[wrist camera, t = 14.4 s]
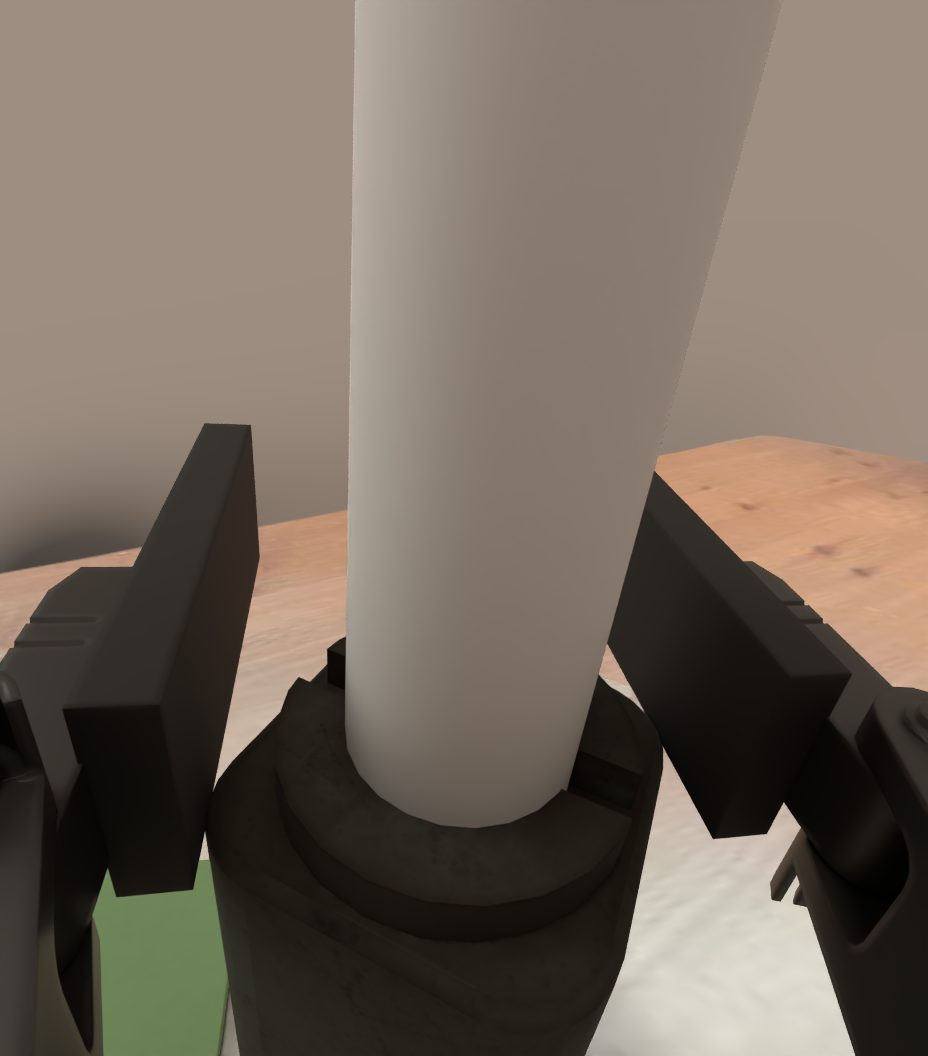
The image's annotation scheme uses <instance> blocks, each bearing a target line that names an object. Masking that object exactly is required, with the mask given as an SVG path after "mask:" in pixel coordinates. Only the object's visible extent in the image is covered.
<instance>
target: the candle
mask: <svg viewBox="0 0 928 1056" xmlns="http://www.w3.org/2000/svg"><path fill="white" fill-rule="evenodd" d="M782 2H783V0H355V52H354V121H353V122H354V123H353V124H354V125H353V191H352V262H351V331H350V402H349V403H350V404H349V405H350V406H349V471H348V473H349V474H348V475H349V476H348V540H347V610H346V637H344V638H342V639H340V640H338V641H337V642H336V643H334V644H333V645H332V646H331V647H329V648H328V649H327V665H326V666H325V667H324V668H323V669H322V670H321V671H320V672H319V673H318V674H317V675H316V676H315V677H314V678H313V679H312V680H311V681H310V682H309V681H307V680H304V679H302V678H300V677H298V679H297V680H296V681H295V683H294V684H293V685H292V687H291V688H290V689H289V690H288V693H287V696H286V698H285V701H284V704H283V706H282V709H281V712H280V713H279V714H278V715H277V716H276V717H275V718H274V719H273V720H272V721H271V722H270V723H269V724H268V725H267V726H266V727H265V728H264V729H263V730H262V732H261V733H260V734H259V735H258V736H257V737H256V738H255V739H254V740H253V741H252V742H251V743H250V744H249V745H248V746H247V747H246V748H245V749H244V750H243V751H242V752H241V753H240V754H239V755H238V756H237V757H236V758H235V759H234V760H233V761H232V763H231V764H230V765H229V766H228V768H227V769H226V770H225V772H224V773H223V774H222V775H221V777H220V778H219V779H218V781H217V784H216V786H215V788H214V791H213V793H212V795H211V798H210V802H209V807H208V813H207V820H206V827H205V833H206V840H207V846H208V852H209V859H210V865H211V872H212V878H213V885H214V891H215V898H216V904H217V911H218V917H219V924H220V930H221V937H222V943H223V949H224V956H225V962H226V969H227V975H228V982H229V988H230V995H231V1001H232V1008H233V1014H234V1021H235V1027H236V1034H237V1040H238V1047H239V1053H240V1056H585V1054H586V1052H587V1049H588V1047H589V1045H590V1042H591V1040H592V1038H593V1035H594V1033H595V1031H596V1028H597V1026H598V1024H599V1021H600V1019H601V1016H602V1014H603V1012H604V1009H605V1007H606V1005H607V1002H608V1000H609V998H610V995H611V993H612V991H613V988H614V986H615V983H616V980H617V978H618V975H619V972H620V969H621V967H622V964H623V961H624V958H625V953H626V948H627V943H628V938H629V933H630V929H631V924H632V919H633V914H634V909H635V904H636V899H637V894H638V889H639V884H640V879H641V874H642V870H643V865H644V860H645V855H646V850H647V845H648V840H649V835H650V830H651V825H652V820H653V816H654V811H655V806H656V801H657V796H658V791H659V786H660V781H661V776H662V771H663V746H662V743H661V740H660V737H659V734H658V731H657V729H656V728H655V726H654V725H653V723H652V722H651V720H650V718H649V717H648V716H647V715H646V714H645V712H644V711H643V710H642V709H641V708H640V707H639V706H638V705H637V704H636V703H635V702H633V701H632V700H631V699H629V698H628V697H626V696H625V695H623V694H622V693H621V692H619V691H618V690H616V689H614V688H612V687H610V686H609V685H608V684H607V683H606V682H605V681H604V680H603V679H602V677H601V676H600V675H599V670H600V667H601V663H602V659H603V656H604V652H605V648H606V645H607V641H608V637H609V634H610V630H611V626H612V623H613V619H614V615H615V612H616V608H617V605H618V601H619V597H620V594H621V590H622V586H623V583H624V579H625V575H626V572H627V568H628V564H629V561H630V557H631V553H632V550H633V546H634V542H635V539H636V535H637V531H638V528H639V524H640V520H641V517H642V513H643V509H644V506H645V502H646V499H647V495H648V491H649V488H650V484H651V480H652V477H653V473H654V469H655V466H656V462H657V458H658V455H659V451H660V447H661V444H662V440H663V436H664V433H665V429H666V425H667V422H668V418H669V414H670V411H671V407H672V403H673V400H674V396H675V393H676V389H677V385H678V382H679V378H680V374H681V371H682V367H683V363H684V360H685V356H686V352H687V349H688V345H689V341H690V338H691V334H692V330H693V327H694V323H695V319H696V316H697V312H698V309H699V305H700V301H701V297H702V294H703V290H704V286H705V283H706V279H707V276H708V272H709V268H710V264H711V261H712V257H713V253H714V250H715V246H716V243H717V239H718V235H719V231H720V228H721V224H722V221H723V217H724V213H725V210H726V206H727V202H728V199H729V195H730V192H731V188H732V184H733V181H734V177H735V173H736V170H737V166H738V162H739V159H740V155H741V151H742V148H743V144H744V140H745V137H746V133H747V129H748V126H749V122H750V118H751V114H752V111H753V107H754V104H755V100H756V97H757V93H758V89H759V86H760V82H761V78H762V74H763V71H764V67H765V64H766V60H767V56H768V53H769V49H770V45H771V42H772V38H773V34H774V31H775V27H776V23H777V19H778V16H779V13H780V8H781V5H782Z"/></svg>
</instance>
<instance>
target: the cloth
mask: <svg viewBox="0 0 928 1056" xmlns="http://www.w3.org/2000/svg"><path fill="white" fill-rule="evenodd" d="M93 917H94V921H95V924H96V928H97V931H98V934H99V938H100V956H101V989H102V1021H103V1054H104V1056H220V1050H221V1042H222V1035H223V1028H224V1020H225V1013H226V1005H227V998H228V990H229V982H228V975H227V969H226V962H225V956H224V949H223V943H222V937H221V930H220V924H219V917H218V911H217V904H216V898H215V891H214V885H213V878H212V872H211V865H210V860H202V861H199V863H198V868H197V873H196V878H195V883H194V888H193V890H188V891H178V892H167V893H157V894H147V895H137V896H127V897H116V895H115V892H114V888H113V885H112V881H111V878H110V874H109V871H108V869H107V872H106V875H105V878H104V881H103V884H102V887H101V890H100V893H99V896H98V900H97V903H96V906H95V909H94V912H93Z"/></svg>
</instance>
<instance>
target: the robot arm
mask: <svg viewBox="0 0 928 1056" xmlns="http://www.w3.org/2000/svg"><path fill="white" fill-rule="evenodd" d="M259 558H260V555H259V540H258V526H257V510H256V495H255V480H254V465H253V449H252V435H251V425H236V424H209V423H208V424H207V423H206V424H204V426H203V428H202V430H201V432H200V434H199V436H198V438H197V440H196V442H195V444H194V446H193V448H192V450H191V452H190V454H189V456H188V458H187V460H186V462H185V464H184V465H183V468H182V470H181V471H180V473H179V475H178V478H177V479H176V481H175V483H174V485H173V487H172V490H171V491H170V494H169V496H168V497H167V500H166V502H165V504H164V505H163V507H162V510H161V511H160V513H159V516H158V517H157V520H156V521H155V523H154V525H153V528H152V529H151V532H150V533H149V536H148V538H147V539H146V542H145V544H144V545H143V547H142V549H141V551H140V553H139V555H138V557H137V559H136V561H135V563H134V565H133V567H81V568H79V569H78V570H77V571H75V572H74V573H72V574H71V575H70V576H68V577H67V578H65V579H64V580H63V581H61V582H60V583H58V584H57V585H55V586H54V587H53V588H51V589H50V590H48V592H47V593H46V595H45V596H44V598H43V599H42V601H41V602H40V604H39V605H38V607H37V608H36V610H35V611H34V613H33V614H32V616H31V617H30V624H26V625H25V626H24V628H23V629H22V631H21V632H20V634H19V635H18V637H17V638H16V640H15V641H14V648H10V649H9V650H8V652H7V654H6V655H5V657H4V658H3V660H2V661H1V663H0V1056H104V1054H103V1021H102V989H101V956H100V938H99V934H98V931H97V928H96V924H95V921H94V917H93V912H94V909H95V906H96V903H97V900H98V896H99V893H100V890H101V887H102V884H103V881H104V878H105V875H106V872H107V869H108V871H109V874H110V878H111V881H112V885H113V888H114V892H115V895H116V897H127V896H137V895H147V894H157V893H167V892H178V891H188V890H193V888H194V883H195V878H196V873H197V868H198V863H199V858H200V853H201V848H202V843H203V838H204V833H205V827H206V820H207V813H208V807H209V802H210V798H211V795H212V793H213V788H214V783H215V778H216V773H217V768H218V763H219V758H220V753H221V748H222V743H223V738H224V733H225V728H226V723H227V718H228V713H229V708H230V703H231V698H232V693H233V688H234V683H235V678H236V673H237V668H238V663H239V658H240V653H241V648H242V643H243V638H244V633H245V628H246V623H247V618H248V613H249V608H250V603H251V598H252V593H253V588H254V583H255V578H256V573H257V568H258V563H259ZM607 644H608V646H609V647H610V649H611V651H612V653H613V655H614V657H615V659H616V660H617V662H618V664H619V666H620V668H621V670H622V672H623V673H624V675H625V677H626V679H627V681H628V683H629V684H630V686H631V688H632V690H633V692H634V694H635V696H636V697H637V699H638V701H639V703H640V705H641V707H642V709H643V710H644V712H645V714H646V715H647V716H648V717H649V718H650V720H651V722H652V723H653V725H654V726H655V728H656V729H657V731H658V734H659V737H660V740H661V743H662V746H663V747H664V749H665V751H666V753H667V755H668V757H669V758H670V760H671V762H672V764H673V766H674V768H675V770H676V771H677V773H678V775H679V777H680V779H681V781H682V783H683V784H684V786H685V788H686V790H687V792H688V794H689V796H690V797H691V799H692V801H693V803H694V805H695V807H696V808H697V810H698V812H699V814H700V816H701V818H702V820H703V821H704V823H705V825H706V827H707V829H708V831H709V833H710V834H711V836H712V838H713V839H719V838H730V837H740V836H750V835H760V834H767V832H768V831H769V829H770V827H771V825H772V823H773V821H774V819H775V817H776V816H777V814H778V812H779V810H780V808H781V806H782V804H783V803H785V804H786V806H787V807H788V809H789V810H790V812H791V813H792V815H793V816H794V818H795V819H796V821H797V822H798V824H799V825H800V827H801V829H800V830H799V832H798V834H797V836H796V837H795V839H794V841H793V842H792V844H791V846H790V848H789V849H788V851H787V853H786V855H785V856H784V858H783V860H782V862H781V863H780V865H779V867H778V869H777V870H776V872H775V874H774V876H773V878H772V880H771V882H770V886H771V899H772V900H775V901H780V902H781V900H782V898H783V897H784V895H785V893H786V892H787V890H788V888H789V887H790V885H791V884H792V882H793V880H794V879H795V877H796V875H797V877H798V880H799V883H800V885H799V887H798V888H797V890H796V892H795V896H794V899H793V904H795V905H800V906H805V907H807V908H808V911H809V914H810V917H811V920H812V923H813V926H814V929H815V933H816V936H817V939H818V942H819V945H820V948H821V951H822V954H823V957H824V960H825V963H826V966H827V969H828V973H829V976H830V979H831V982H832V985H833V988H834V991H835V994H836V997H837V1000H838V1003H839V1006H840V1009H841V1013H842V1016H843V1019H844V1022H845V1025H846V1028H847V1031H848V1034H849V1037H850V1040H851V1043H852V1046H853V1049H854V1053H855V1056H928V692H926V691H923V690H919V689H915V688H907V687H892V686H891V685H890V684H889V683H888V682H887V681H886V680H885V679H884V678H883V677H882V676H881V675H880V674H879V673H878V672H877V671H876V670H875V669H874V668H873V667H872V666H871V665H870V664H869V663H868V662H867V661H866V660H865V659H864V658H863V657H862V656H860V655H859V654H858V653H857V652H856V651H855V650H854V649H853V648H852V647H851V646H850V645H849V644H848V643H847V642H846V641H845V640H844V639H843V638H842V637H841V636H840V635H839V634H838V633H837V632H836V631H835V630H834V629H833V628H832V627H831V626H830V625H829V624H823V619H822V618H821V617H820V616H819V615H818V614H817V613H816V612H815V611H814V610H813V609H812V608H811V607H810V606H809V605H804V600H803V599H802V598H801V597H800V596H799V595H798V594H797V593H796V592H795V591H794V590H793V589H791V588H790V587H789V586H788V585H787V584H786V583H785V582H784V581H783V580H782V579H780V578H779V577H777V576H775V575H774V574H772V573H770V572H769V571H767V570H765V569H764V568H762V567H761V566H759V565H757V564H756V563H754V562H752V561H742V560H741V559H740V558H739V557H738V556H737V555H736V554H735V553H734V552H733V551H732V550H731V549H730V548H729V547H728V546H727V545H726V544H725V543H724V542H723V541H722V540H721V539H720V538H719V537H718V536H717V535H716V534H715V532H714V531H713V530H712V529H711V528H710V527H709V526H708V525H707V524H706V523H705V522H704V521H703V520H702V519H701V518H700V517H699V516H698V515H697V514H696V513H695V512H694V511H693V510H692V509H691V508H690V507H689V506H688V505H687V504H686V503H685V502H684V501H683V500H682V499H681V498H680V497H679V496H678V495H677V494H676V493H675V492H674V491H673V490H672V489H671V488H670V487H669V486H668V484H667V483H666V482H665V481H664V480H663V479H662V478H661V477H660V476H659V475H658V474H657V473H656V472H655V471H654V473H653V477H652V480H651V484H650V488H649V491H648V495H647V499H646V502H645V506H644V509H643V513H642V517H641V520H640V524H639V528H638V531H637V535H636V539H635V542H634V546H633V550H632V553H631V557H630V561H629V564H628V568H627V572H626V575H625V579H624V583H623V586H622V590H621V594H620V597H619V601H618V605H617V608H616V612H615V615H614V619H613V623H612V626H611V630H610V634H609V637H608V641H607Z"/></svg>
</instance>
